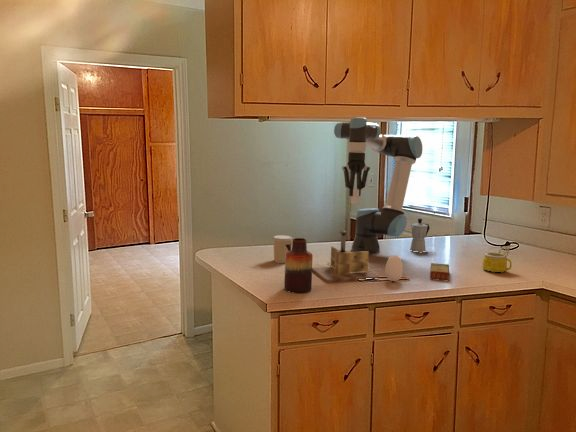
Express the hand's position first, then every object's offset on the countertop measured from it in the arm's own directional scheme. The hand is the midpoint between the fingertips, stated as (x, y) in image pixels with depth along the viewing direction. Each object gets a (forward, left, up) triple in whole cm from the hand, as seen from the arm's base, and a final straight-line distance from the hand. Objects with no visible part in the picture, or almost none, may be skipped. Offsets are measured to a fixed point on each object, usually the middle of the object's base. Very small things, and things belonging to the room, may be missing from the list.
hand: (354, 203), depth 236 cm
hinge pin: (+11, +14, -21) cm, 27 cm away
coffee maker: (-52, -25, -31) cm, 65 cm away
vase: (+36, +28, -31) cm, 55 cm away
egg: (-8, +26, -31) cm, 41 cm away
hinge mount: (+9, +12, -30) cm, 34 cm away
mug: (-66, +20, -31) cm, 75 cm away
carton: (-33, +22, -31) cm, 51 cm away
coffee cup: (+29, -17, -31) cm, 45 cm away
